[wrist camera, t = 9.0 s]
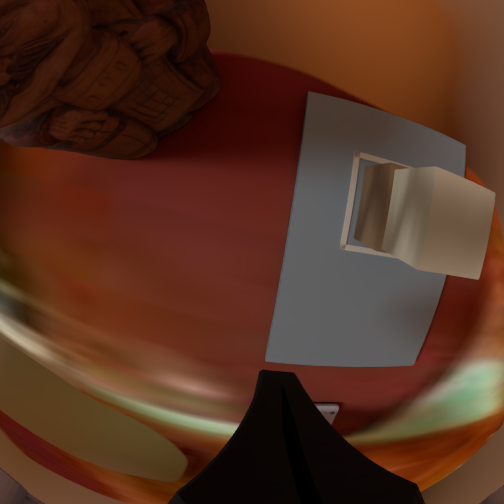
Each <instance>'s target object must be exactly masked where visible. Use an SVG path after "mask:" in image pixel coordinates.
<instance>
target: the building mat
mask: <svg viewBox="0 0 504 504" xmlns="http://www.w3.org/2000/svg"><path fill="white" fill-rule="evenodd" d="M465 158H466V145H464V144H462V143H460V142H458V141H456V140H454V139H452V138H450V137H448V136H446V135H444V134H441V133H439V132H437V131H435V130H432V129H430V128H428V127H425V126H423V125H420V124H418V123H415V122H413V121H410V120H408V119H405V118H402V117H400V116H397V115H394V114H391V113H388V112H385V111H382V110H379V109H376V108H373V107H369V106H366V105H363V104H359V103H356V102H352V101H348V100H345V99H341V98H337V97H333V96H328V95H324V94H319V93H315V92H310V91H309V92H308V94H307V97H306V106H305V114H304V123H303V131H302V138H301V146H300V154H299V161H298V168H297V175H296V182H295V189H294V196H293V202H292V209H291V215H290V222H289V228H288V234H287V240H286V246H285V252H284V258H283V264H282V270H281V276H280V281H279V287H278V293H277V298H276V303H275V309H274V314H273V319H272V325H271V330H270V335H269V340H268V345H267V350H266V355H265V360H266V362H276V363H288V364H301V365H317V366H343V367H386V366H411V365H414V363H415V361H416V358H417V356H418V354H419V352H420V349H421V347H422V345H423V342H424V340H425V337H426V335H427V332H428V330H429V327H430V324H431V322H432V319H433V316H434V313H435V310H436V308H437V305H438V302H439V298H440V295H441V292H442V289H443V285H444V282H445V279H446V275H447V274H441V273H434V272H428V271H422V270H417V269H415V268H414V267H412V266H410V265H408V264H407V263H405V262H403V261H401V260H400V259H398V258H396V257H394V256H392V255H391V254H389V253H383V252H377V251H375V250H373V249H372V248H370V247H368V246H366V245H365V244H363V243H361V242H359V241H358V240H356V239H354V233H355V228H356V222H357V217H358V211H359V205H360V198H361V192H362V185H363V178H364V170H365V167H366V166H372V165H378V164H384V163H390V162H391V163H395V164H398V165H401V166H404V167H408V168H420V167H434V166H436V167H439V168H441V169H444V170H446V171H449V172H451V173H453V174H456V175H458V176H460V177H463V178H464V173H465Z"/></svg>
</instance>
